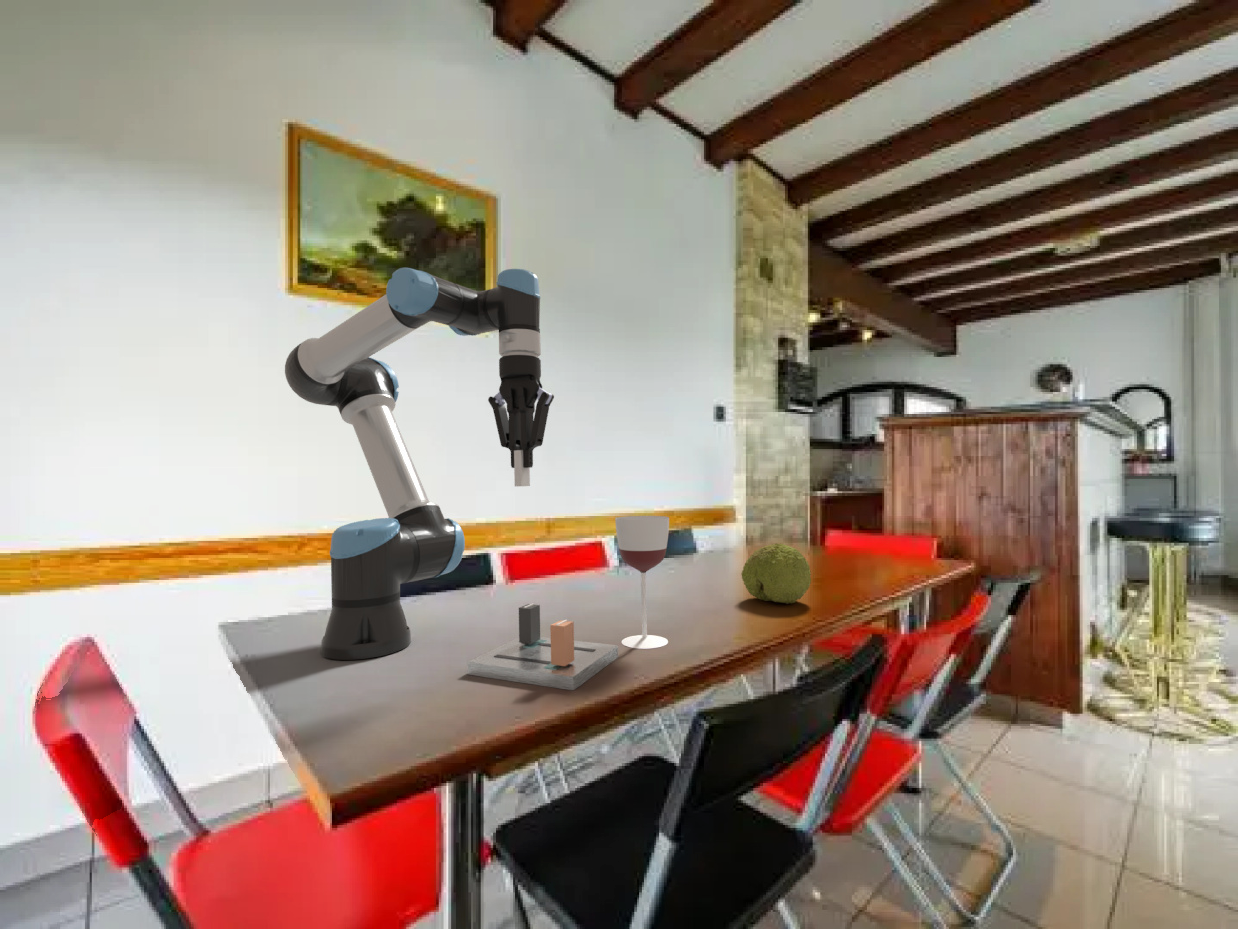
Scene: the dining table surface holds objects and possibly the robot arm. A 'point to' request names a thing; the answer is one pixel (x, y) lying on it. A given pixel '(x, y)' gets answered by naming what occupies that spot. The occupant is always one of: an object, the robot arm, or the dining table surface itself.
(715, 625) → the dining table surface
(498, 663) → the console
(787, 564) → the fruit
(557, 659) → the block
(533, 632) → the fader black
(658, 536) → the wineglass
